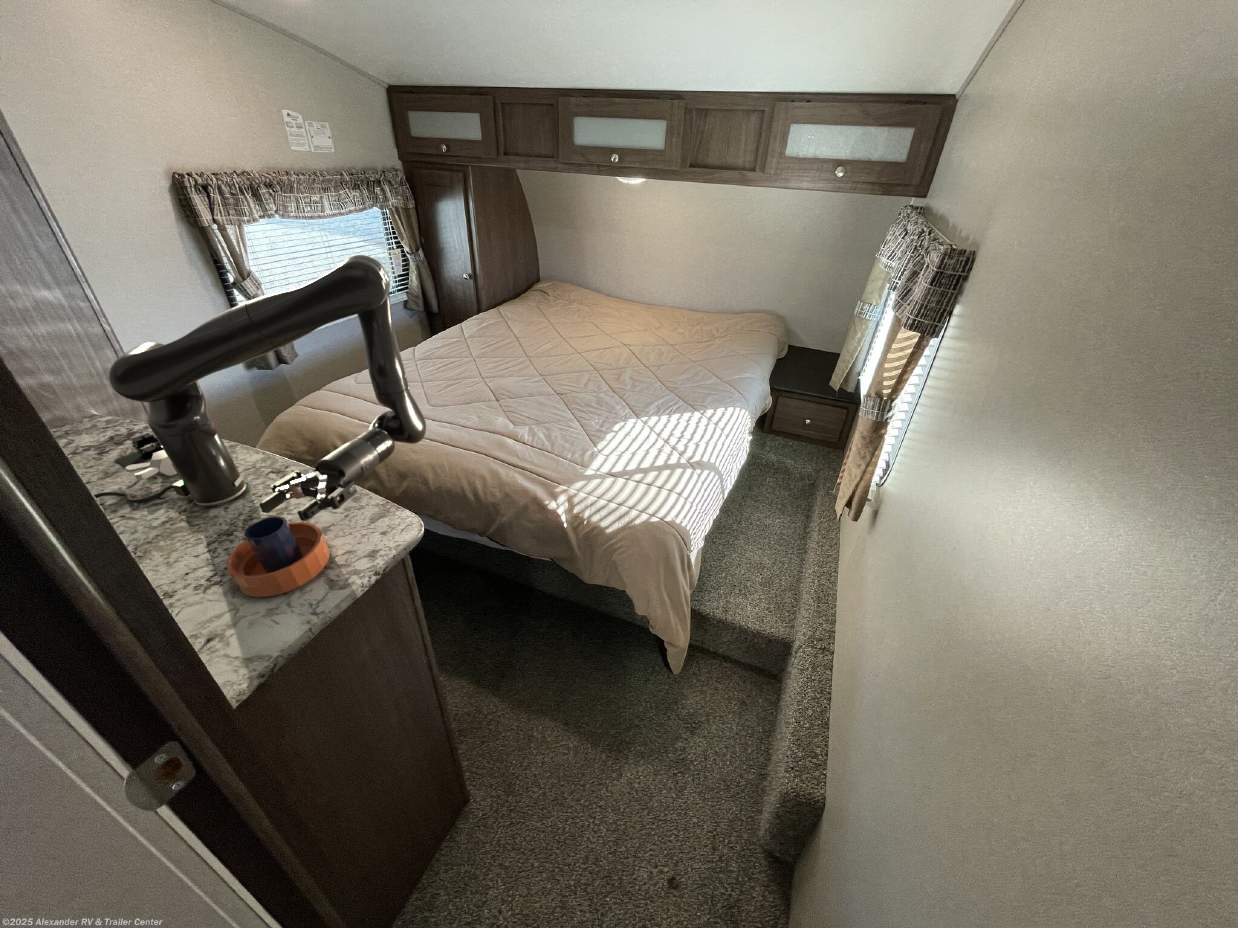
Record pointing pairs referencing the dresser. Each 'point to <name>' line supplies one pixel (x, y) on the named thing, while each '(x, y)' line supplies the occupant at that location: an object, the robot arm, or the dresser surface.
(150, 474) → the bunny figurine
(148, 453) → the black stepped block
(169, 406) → the robot arm
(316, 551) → the bowl
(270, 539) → the blue cup
